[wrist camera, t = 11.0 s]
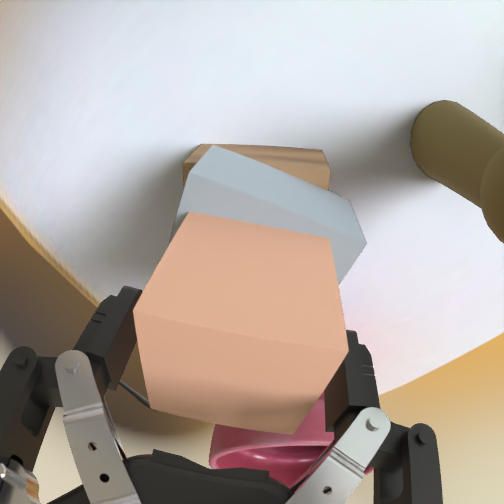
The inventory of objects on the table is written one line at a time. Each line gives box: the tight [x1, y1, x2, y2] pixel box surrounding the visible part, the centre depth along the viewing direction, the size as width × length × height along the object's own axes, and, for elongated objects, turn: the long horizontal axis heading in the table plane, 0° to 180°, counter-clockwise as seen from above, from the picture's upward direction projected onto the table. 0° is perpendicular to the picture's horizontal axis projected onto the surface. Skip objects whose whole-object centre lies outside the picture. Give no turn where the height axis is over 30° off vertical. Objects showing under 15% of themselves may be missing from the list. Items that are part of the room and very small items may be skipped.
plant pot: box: [209, 391, 374, 487], centre depth 26 cm, size 14×14×13 cm
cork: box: [411, 100, 504, 243], centre depth 13 cm, size 6×6×11 cm
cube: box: [133, 212, 349, 435], centre depth 12 cm, size 6×6×6 cm
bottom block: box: [182, 144, 331, 190], centre depth 20 cm, size 8×8×4 cm
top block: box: [168, 145, 367, 286], centre depth 17 cm, size 8×8×4 cm
